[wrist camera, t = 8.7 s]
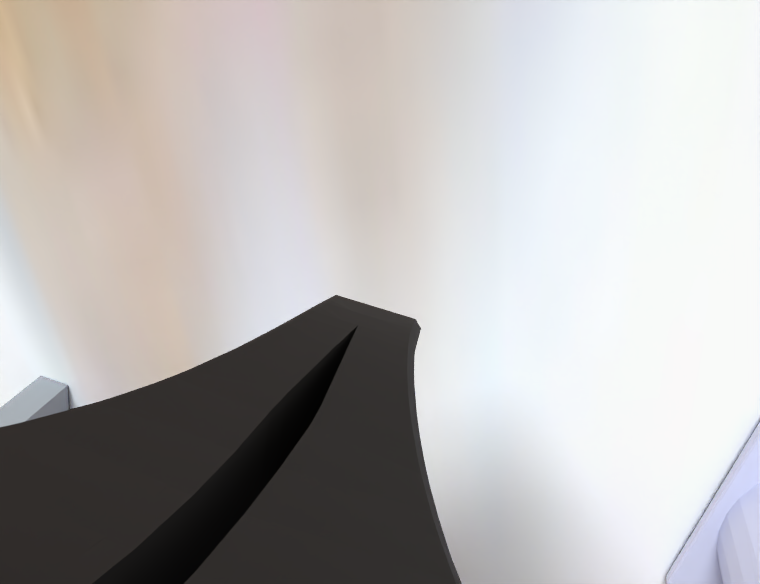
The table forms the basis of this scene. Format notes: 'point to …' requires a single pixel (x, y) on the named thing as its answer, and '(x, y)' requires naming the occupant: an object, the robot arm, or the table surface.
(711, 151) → the table surface
